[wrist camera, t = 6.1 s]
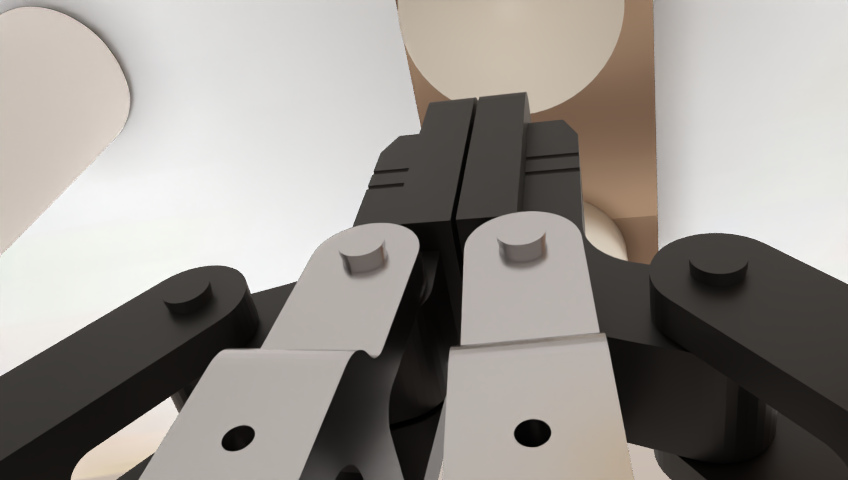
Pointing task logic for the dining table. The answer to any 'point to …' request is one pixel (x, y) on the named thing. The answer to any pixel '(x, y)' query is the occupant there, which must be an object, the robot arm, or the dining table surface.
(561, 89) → the knob
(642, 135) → the mount
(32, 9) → the can
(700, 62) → the dining table surface
